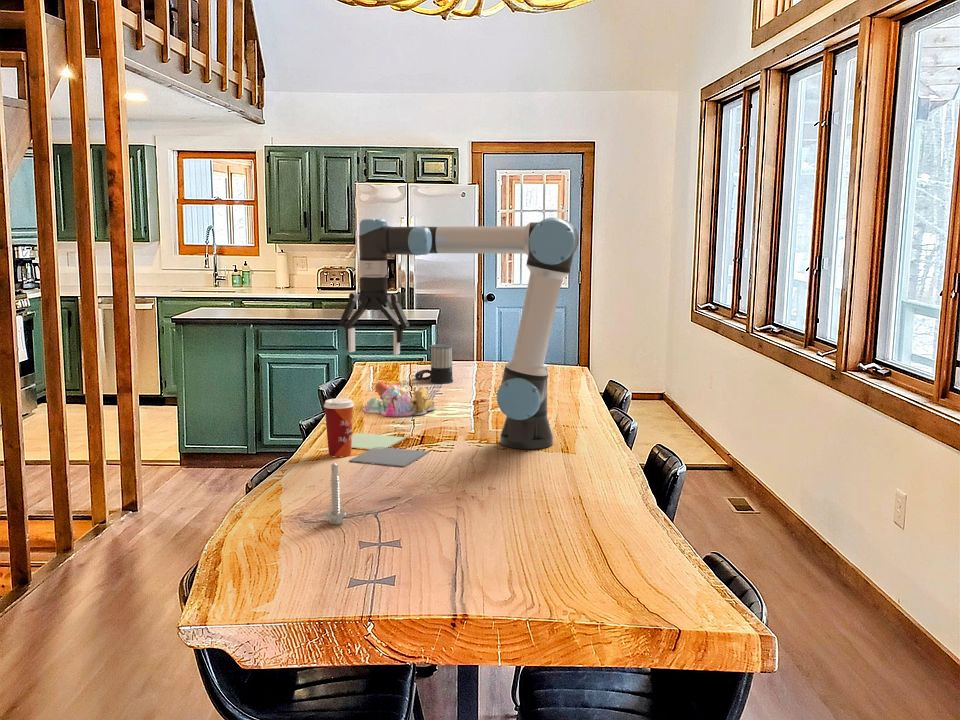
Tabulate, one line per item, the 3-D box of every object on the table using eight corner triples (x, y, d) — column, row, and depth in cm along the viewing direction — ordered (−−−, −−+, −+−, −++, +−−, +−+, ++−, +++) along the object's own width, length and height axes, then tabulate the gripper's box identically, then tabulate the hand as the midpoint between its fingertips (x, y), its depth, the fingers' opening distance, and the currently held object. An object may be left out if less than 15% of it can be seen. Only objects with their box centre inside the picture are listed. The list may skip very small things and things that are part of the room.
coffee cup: (349, 459, 241) (348, 404, 239) (320, 457, 243) (318, 402, 241) (359, 451, 249) (358, 398, 247) (331, 449, 251) (330, 397, 249)
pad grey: (428, 452, 248) (428, 451, 248) (404, 467, 233) (404, 465, 233) (376, 447, 253) (376, 446, 253) (349, 461, 238) (349, 460, 238)
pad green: (405, 438, 264) (405, 437, 264) (381, 451, 250) (381, 449, 249) (356, 434, 270) (356, 433, 270) (330, 446, 255) (330, 445, 255)
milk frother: (452, 384, 356) (452, 346, 354) (412, 383, 356) (412, 346, 354) (454, 378, 370) (454, 342, 368) (415, 377, 370) (415, 342, 368)
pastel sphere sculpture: (440, 404, 316) (440, 378, 315) (430, 419, 293) (430, 391, 292) (370, 403, 319) (369, 377, 317) (354, 417, 296) (354, 389, 294)
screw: (319, 523, 189) (336, 517, 193) (334, 528, 186) (352, 522, 190) (317, 463, 187) (335, 458, 191) (333, 467, 184) (351, 462, 188)
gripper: (326, 275, 246) (327, 352, 249) (410, 278, 239) (410, 357, 242) (338, 274, 253) (339, 349, 256) (421, 276, 246) (421, 353, 249)
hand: (374, 353), depth 249 cm, fingers open, 13 cm apart
